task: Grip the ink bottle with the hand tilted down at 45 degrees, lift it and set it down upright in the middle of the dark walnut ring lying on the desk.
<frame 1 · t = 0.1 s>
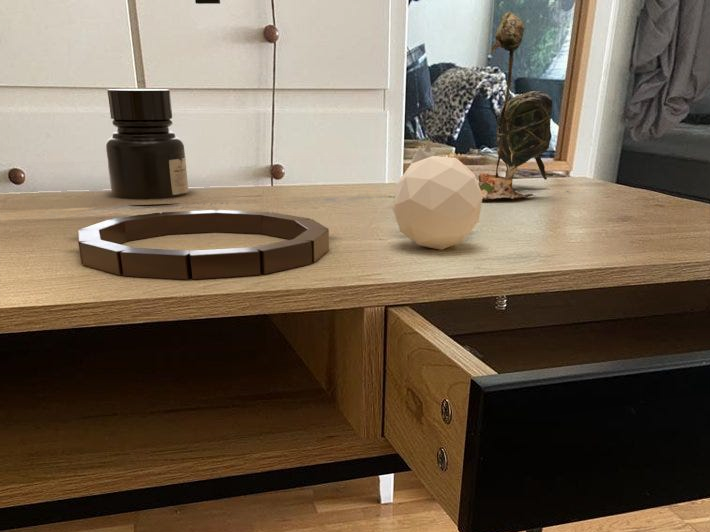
ink bottle: (151, 204, 91), on the tv stand
geometric ball: (434, 248, 69), on the tv stand
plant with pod: (504, 199, 97), on the tv stand
walnut ring: (206, 250, 67), on the tv stand
rubber duck: (421, 219, 83), on the tv stand
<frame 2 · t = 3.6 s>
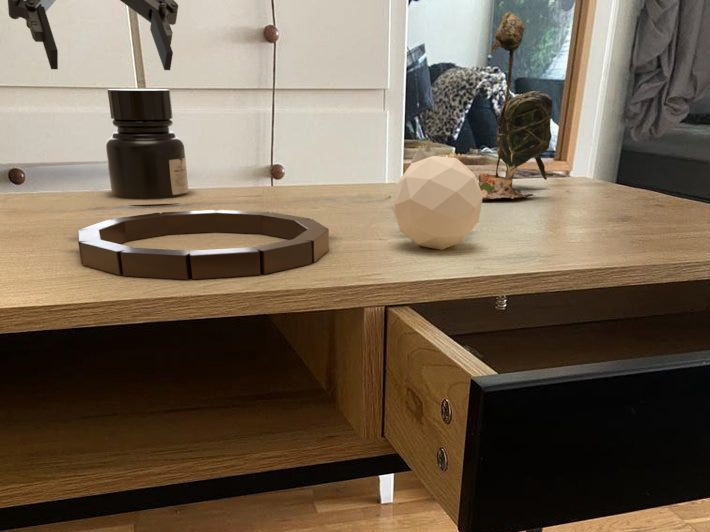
hand: (113, 61, 92), 15 cm above the tv stand, tool tilted 45°, fingers open, 13 cm apart
nothing on the tv stand moved.
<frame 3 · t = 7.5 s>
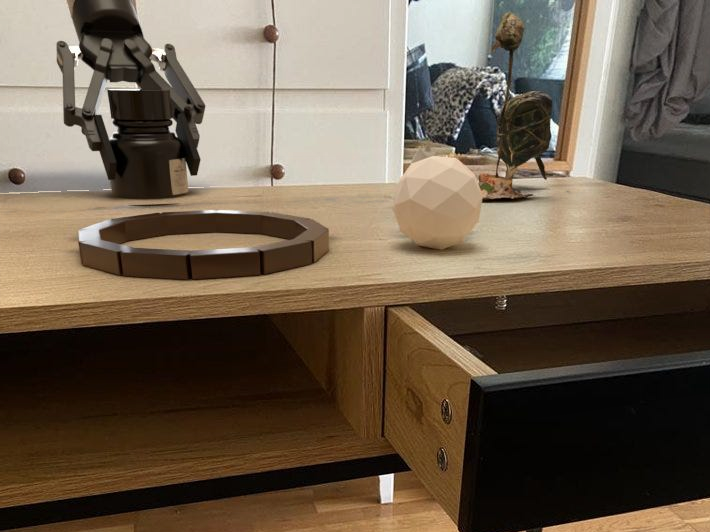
hand: (155, 169, 87), 4 cm above the tv stand, tool tilted 45°, fingers closed on ink bottle, 9 cm apart
ink bottle: (151, 204, 91), on the tv stand, touching gripper
everything else where it was.
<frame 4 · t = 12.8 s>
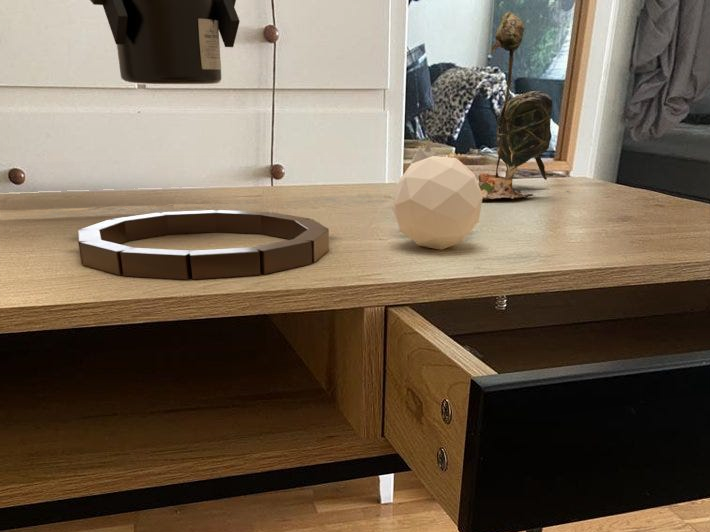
hand: (178, 32, 64), 17 cm above the tv stand, tool tilted 45°, fingers closed on ink bottle, 9 cm apart
ink bottle: (172, 87, 69), point 13 cm above the tv stand, touching gripper
everything else where it was.
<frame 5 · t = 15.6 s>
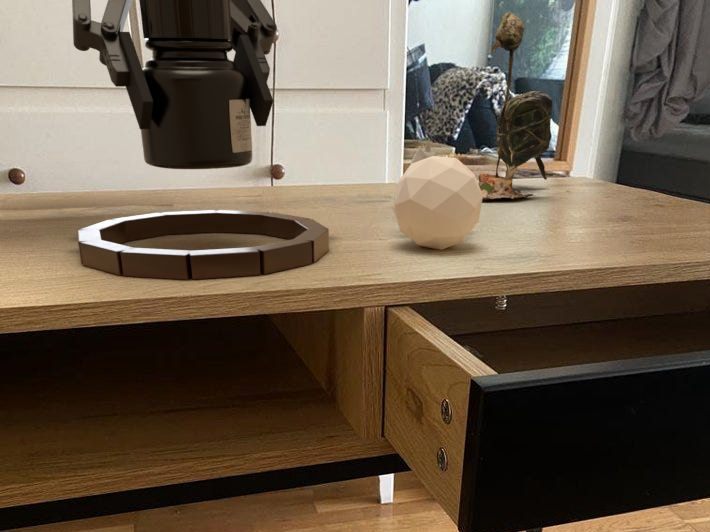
hand: (207, 114, 59), 11 cm above the tv stand, tool tilted 45°, fingers closed on ink bottle, 9 cm apart
ink bottle: (199, 168, 63), point 7 cm above the tv stand, touching gripper
everything else where it was.
when the fingers open (4 cm above the tv stand, at t = 18.0 s): ink bottle stays where it is, resting in walnut ring.
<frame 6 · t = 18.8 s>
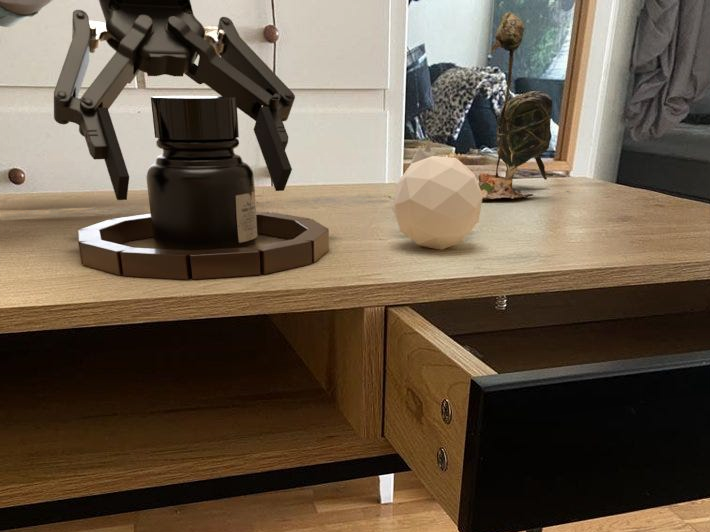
hand: (207, 184, 62), 6 cm above the tv stand, tool tilted 45°, fingers open, 13 cm apart
ink bottle: (207, 253, 67), resting in walnut ring
everything else where it was.
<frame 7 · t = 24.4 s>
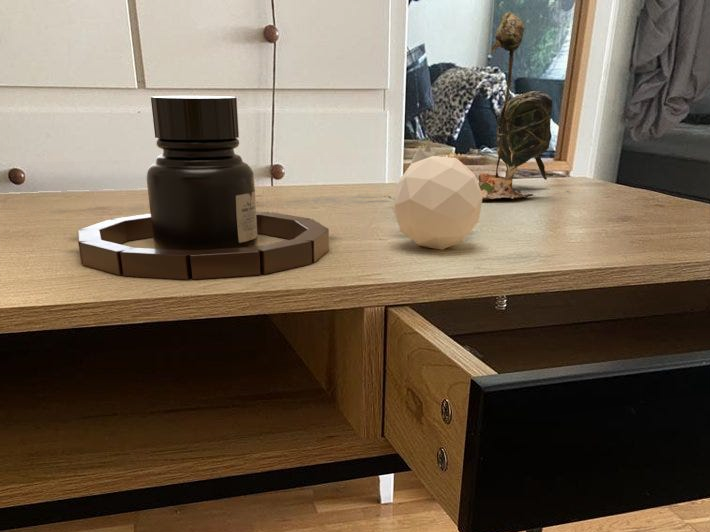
nothing on the tv stand moved.
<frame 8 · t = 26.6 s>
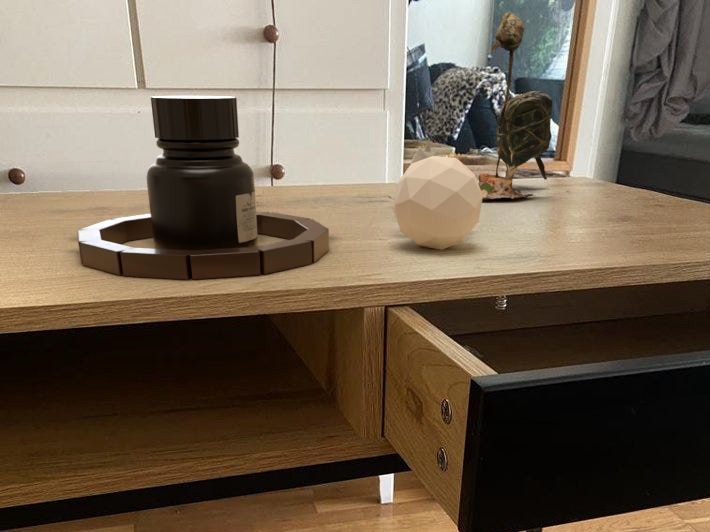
nothing on the tv stand moved.
at the end: ink bottle inside the target area on the walnut ring (0.1 cm from its centre), point 0.0 cm above the walnut ring's base; ink bottle tilted 0°; the gripper is holding nothing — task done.
